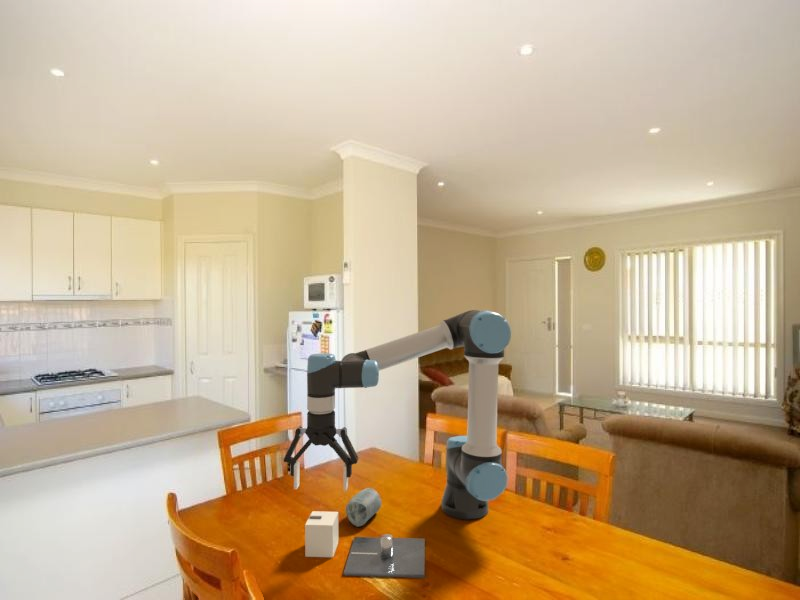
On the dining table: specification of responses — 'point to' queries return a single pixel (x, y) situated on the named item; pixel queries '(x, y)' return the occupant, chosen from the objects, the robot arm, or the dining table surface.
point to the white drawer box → (321, 534)
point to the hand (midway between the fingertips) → (321, 488)
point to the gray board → (386, 557)
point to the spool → (363, 506)
